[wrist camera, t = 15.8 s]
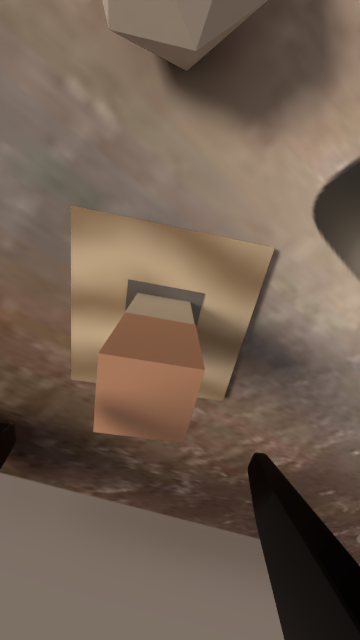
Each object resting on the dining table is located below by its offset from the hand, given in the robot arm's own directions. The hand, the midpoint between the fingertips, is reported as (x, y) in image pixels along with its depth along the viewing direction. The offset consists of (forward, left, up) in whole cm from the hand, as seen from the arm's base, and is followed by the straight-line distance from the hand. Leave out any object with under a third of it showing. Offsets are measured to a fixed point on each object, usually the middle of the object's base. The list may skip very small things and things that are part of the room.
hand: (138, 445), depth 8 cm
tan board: (0, 0, -13) cm, 13 cm away
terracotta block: (0, 0, -7) cm, 7 cm away
